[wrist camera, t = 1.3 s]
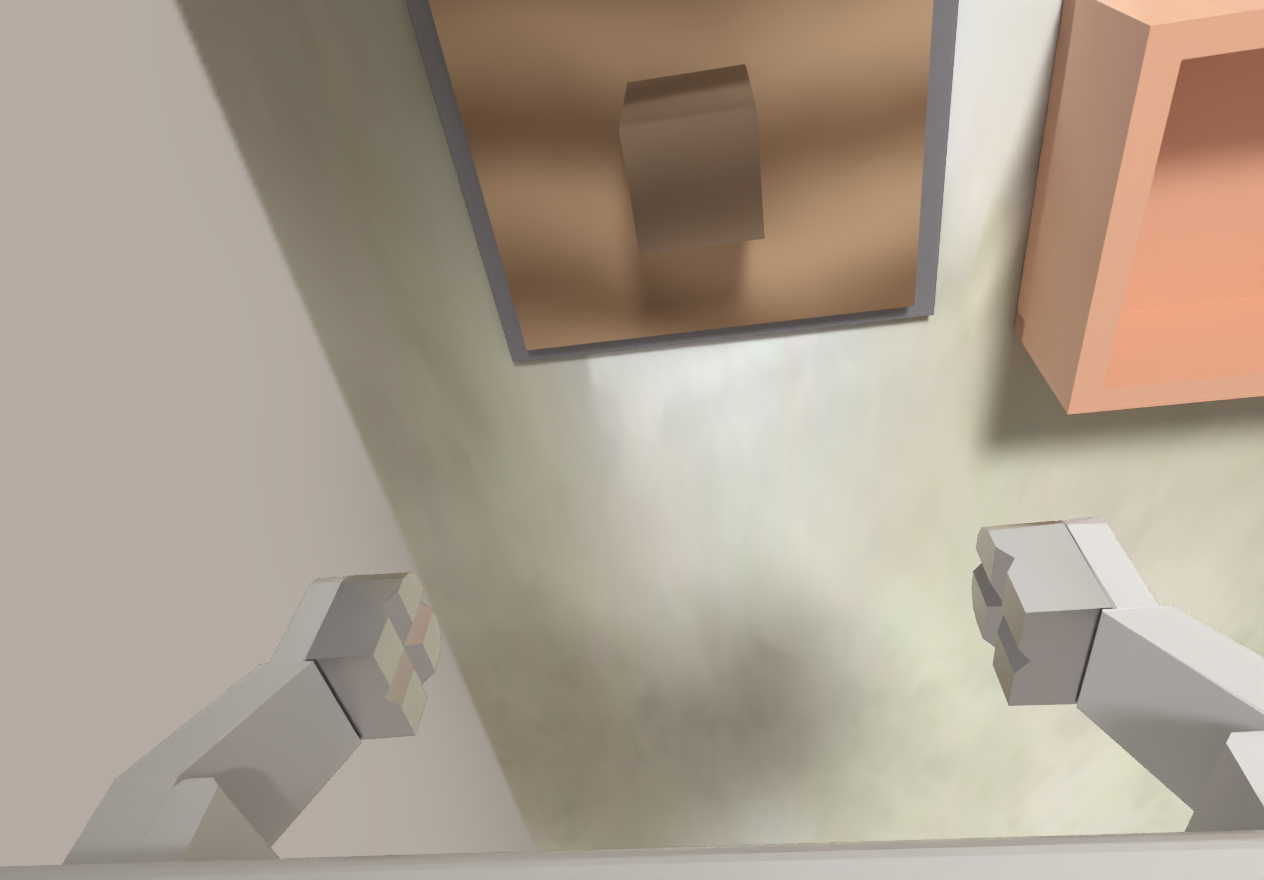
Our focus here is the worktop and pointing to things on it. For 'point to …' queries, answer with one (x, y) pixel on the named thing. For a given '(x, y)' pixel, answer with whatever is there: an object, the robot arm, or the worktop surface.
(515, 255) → the walnut cover
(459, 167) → the rubber mat
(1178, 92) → the terracotta basin
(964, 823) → the worktop surface
